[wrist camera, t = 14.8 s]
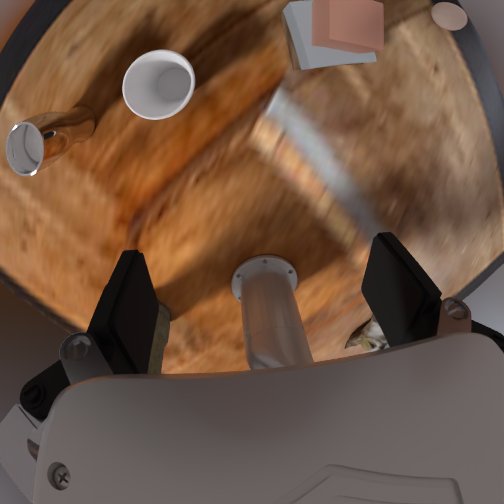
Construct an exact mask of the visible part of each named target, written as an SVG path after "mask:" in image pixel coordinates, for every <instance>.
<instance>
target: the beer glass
mask: <svg viewBox="0 0 504 504" xmlns="http://www.w3.org/2000/svg"><path fill="white" fill-rule="evenodd" d="M94 129H95V117H94V114H93V112H92V111H91V110H90V109H89V108H87V107H85V106H76V107H74V108H72V109H70V110H69V111H67V112H56V111H54V112H45V113H41V114H38V115H35V116H32V117H30V118H28V119H26V120H24V121H22V122H19V123H17V124H16V125H15V126H14V127H13V128H12V129H11V130H10V132H9V134H8V137H7V140H6V157H7V160H8V163H9V165H10V167H11V168H12V170H13V171H14V172H15V173H17V174H18V175H21V176H30V175H33V174H34V173H36V172H38V171H40V170H42V169H44V168H46V167H47V166H49V165H51V164H52V163H54V162H55V161H57V160H58V159H59V158H60V157H61V156H63V155H64V154H65V153H66V152H67V151H68V150H69V149H70V148H71V147H72V146H73V145H74V144H76V143H82V142H84V141H86V140H88V139H89V138H90V137H91V135H92V134H93V132H94Z"/></svg>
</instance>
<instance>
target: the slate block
mask: <svg viewBox="0 0 504 504" xmlns="http://www.w3.org/2000/svg"><path fill="white" fill-rule="evenodd" d="M313 1H315V0H307V1H296V2H289V4H288V5H287V6H286V7H285V8H284V9H283V12H284V15H285V18H286V21H287V24H288V27H289V30H290V33H291V36H292V39H293V43H294V46H295V49H296V53H297V56H298V59H299V63H300V67H301V70H305V69H312V68H318V67H325V66H333V65H341V64H351V63H363V62H377V60H376V56H375V52H371V53H362V54H357V53H352V52H347V51H342V50H337V49H331V48H325V47H318V46H311V44H312V2H313Z"/></svg>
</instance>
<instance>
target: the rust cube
mask: <svg viewBox="0 0 504 504" xmlns="http://www.w3.org/2000/svg"><path fill="white" fill-rule="evenodd" d="M311 46H318V47H325V48H331V49H337V50H342V51H347V52H352V53H357V54H362V53H371V52H380V51H384V11H383V3H380V2H377V1H374V0H315V1H313V2H312V44H311Z"/></svg>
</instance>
